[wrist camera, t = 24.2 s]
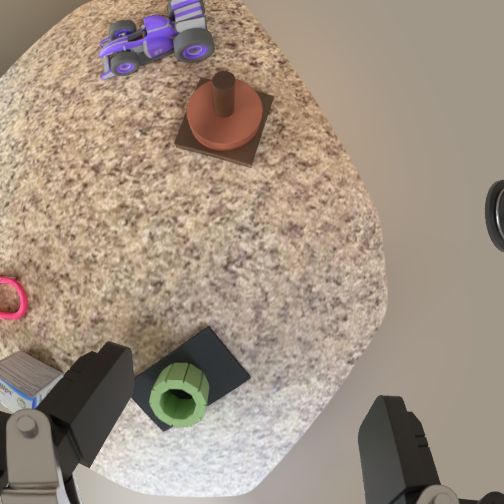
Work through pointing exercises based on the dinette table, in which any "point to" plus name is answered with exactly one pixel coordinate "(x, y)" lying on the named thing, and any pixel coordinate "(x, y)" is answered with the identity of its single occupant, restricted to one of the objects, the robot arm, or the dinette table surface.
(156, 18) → the toy race car
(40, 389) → the medicine box
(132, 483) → the dinette table surface
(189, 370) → the green ring
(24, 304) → the fitness band
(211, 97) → the stand
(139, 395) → the mat
